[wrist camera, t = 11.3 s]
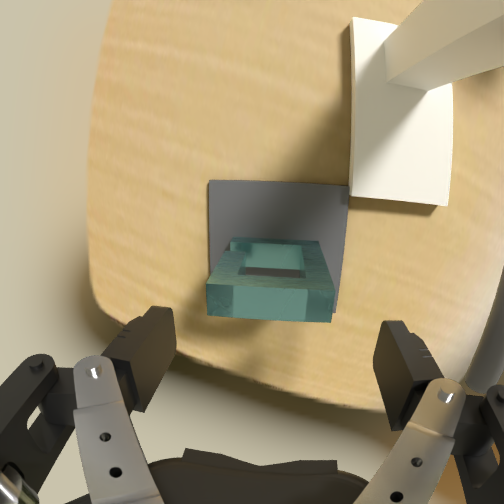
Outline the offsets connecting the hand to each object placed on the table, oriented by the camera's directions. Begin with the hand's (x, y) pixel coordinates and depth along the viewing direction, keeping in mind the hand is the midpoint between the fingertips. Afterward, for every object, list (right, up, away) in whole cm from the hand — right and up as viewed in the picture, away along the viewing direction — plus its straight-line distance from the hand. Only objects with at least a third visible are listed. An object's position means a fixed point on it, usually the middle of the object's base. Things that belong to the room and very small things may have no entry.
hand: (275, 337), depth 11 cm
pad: (+1, +3, +10) cm, 10 cm away
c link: (+1, +3, +9) cm, 10 cm away
